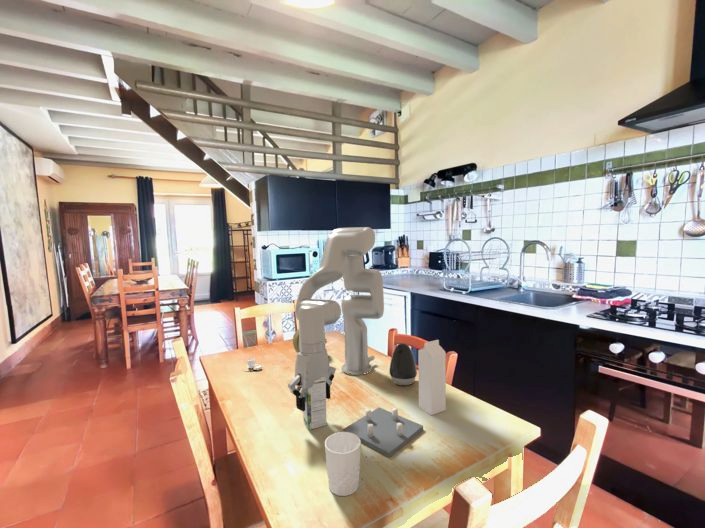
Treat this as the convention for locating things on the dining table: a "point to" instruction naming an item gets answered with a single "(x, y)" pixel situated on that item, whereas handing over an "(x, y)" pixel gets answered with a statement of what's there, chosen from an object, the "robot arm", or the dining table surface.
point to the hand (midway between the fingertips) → (314, 403)
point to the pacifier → (253, 364)
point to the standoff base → (384, 430)
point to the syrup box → (315, 405)
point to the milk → (432, 378)
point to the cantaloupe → (296, 341)
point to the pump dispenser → (403, 365)
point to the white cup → (343, 462)
